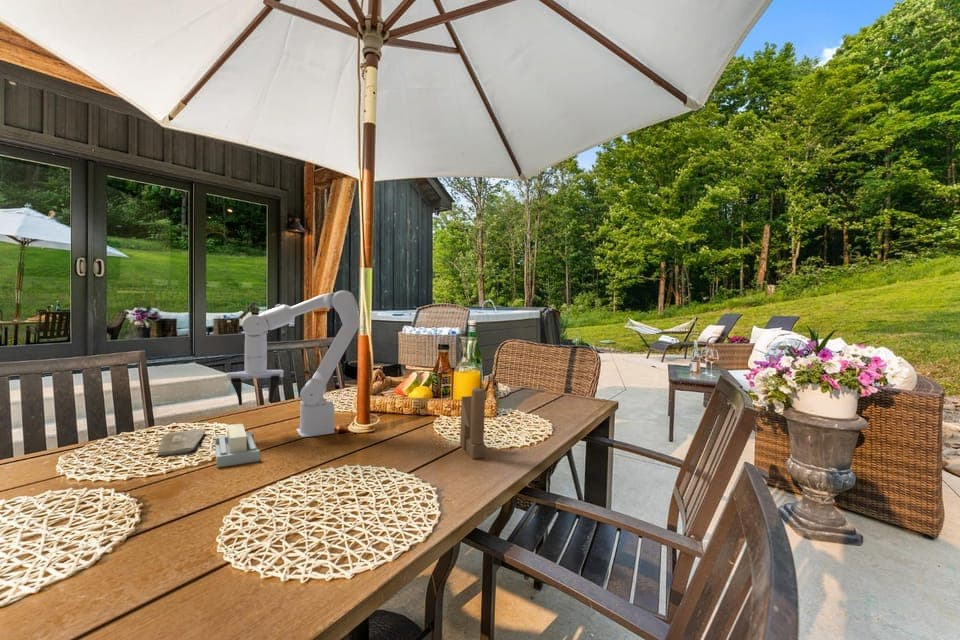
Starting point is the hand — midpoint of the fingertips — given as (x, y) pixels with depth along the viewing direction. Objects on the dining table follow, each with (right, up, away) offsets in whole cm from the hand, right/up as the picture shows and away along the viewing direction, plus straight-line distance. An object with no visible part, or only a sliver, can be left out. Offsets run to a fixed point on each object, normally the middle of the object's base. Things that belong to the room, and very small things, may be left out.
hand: (255, 403), depth 124 cm
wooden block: (+63, -12, -7) cm, 65 cm away
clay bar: (+3, -9, -14) cm, 17 cm away
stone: (-15, -10, -9) cm, 20 cm away
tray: (+3, -10, -14) cm, 18 cm away
